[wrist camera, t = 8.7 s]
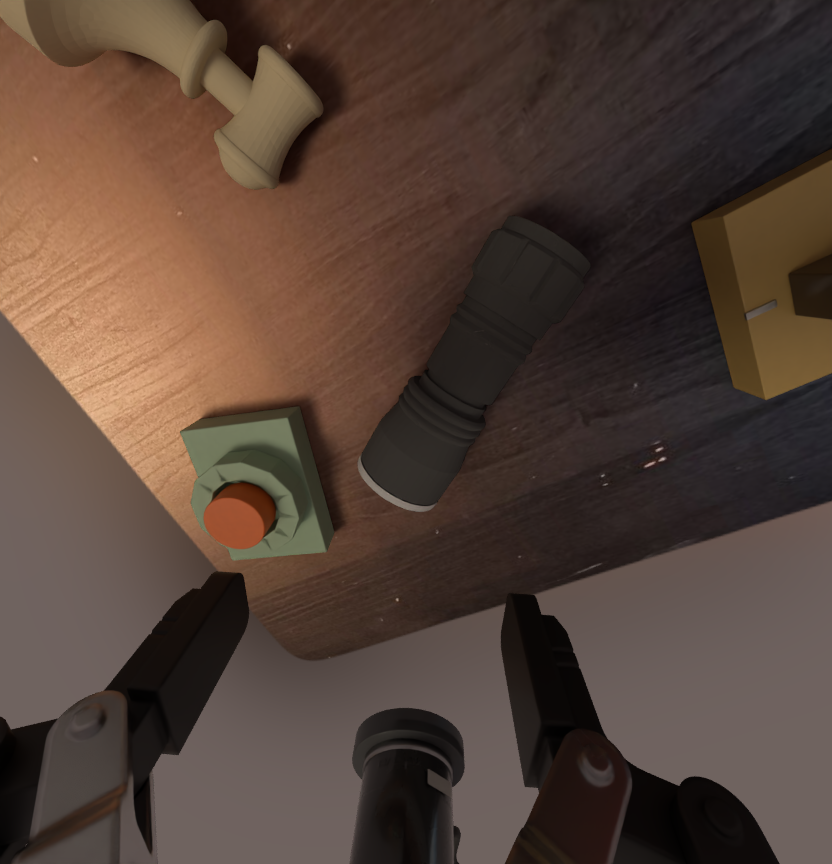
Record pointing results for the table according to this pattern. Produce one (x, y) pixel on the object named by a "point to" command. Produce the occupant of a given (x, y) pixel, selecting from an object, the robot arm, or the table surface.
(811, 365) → the plate
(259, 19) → the table surface
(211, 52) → the door knob
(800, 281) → the thumb turn
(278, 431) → the green button base
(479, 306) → the flashlight
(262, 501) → the button
